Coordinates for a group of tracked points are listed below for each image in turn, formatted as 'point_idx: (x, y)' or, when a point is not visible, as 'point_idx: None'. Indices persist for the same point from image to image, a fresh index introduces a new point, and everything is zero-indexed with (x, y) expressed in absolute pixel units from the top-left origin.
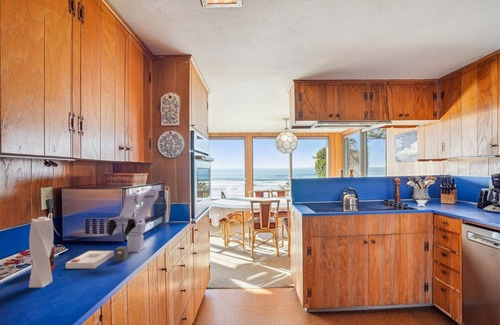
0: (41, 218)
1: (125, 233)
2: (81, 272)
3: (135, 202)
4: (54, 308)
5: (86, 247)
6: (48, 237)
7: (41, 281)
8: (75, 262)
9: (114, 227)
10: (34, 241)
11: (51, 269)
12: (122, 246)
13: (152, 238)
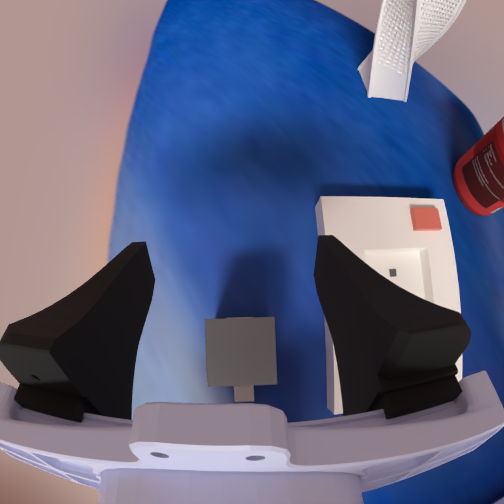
0: None
1: (133, 243)
2: (337, 164)
3: None
4: (234, 6)
5: (494, 468)
6: None
7: (367, 58)
8: (413, 204)
9: (345, 362)
10: None
11: (455, 180)
12: (252, 382)
13: None
